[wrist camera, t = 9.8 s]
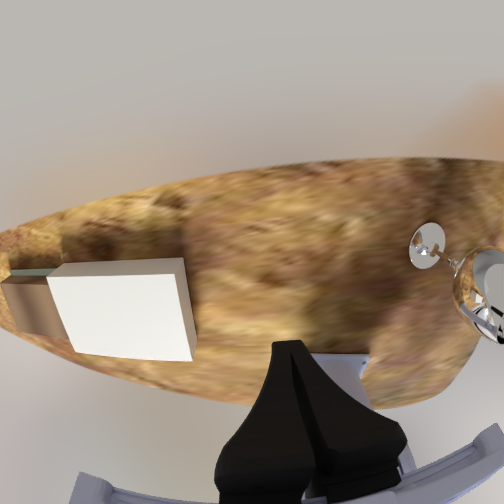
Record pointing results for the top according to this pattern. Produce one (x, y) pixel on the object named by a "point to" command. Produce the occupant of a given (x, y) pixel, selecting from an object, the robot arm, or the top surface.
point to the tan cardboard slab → (33, 306)
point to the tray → (126, 308)
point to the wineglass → (467, 280)
